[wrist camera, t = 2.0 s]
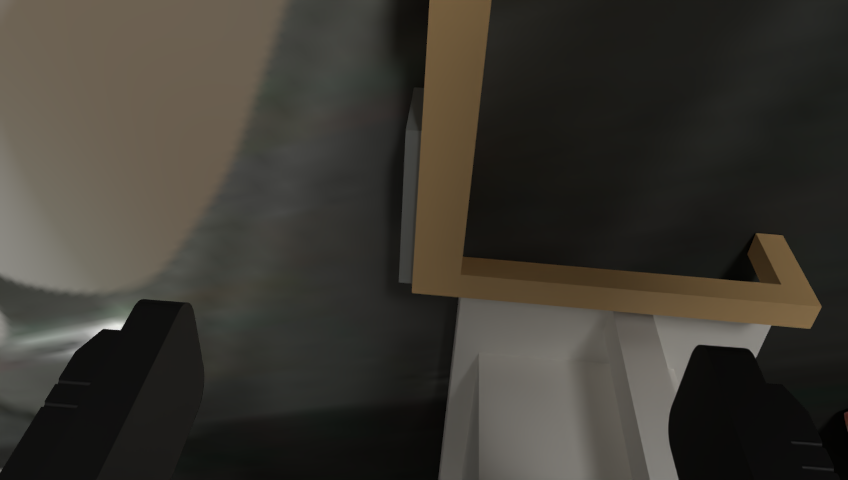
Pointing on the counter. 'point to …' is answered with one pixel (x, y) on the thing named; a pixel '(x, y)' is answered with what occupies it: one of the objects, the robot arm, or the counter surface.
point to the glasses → (534, 282)
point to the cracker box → (846, 419)
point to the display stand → (569, 390)
